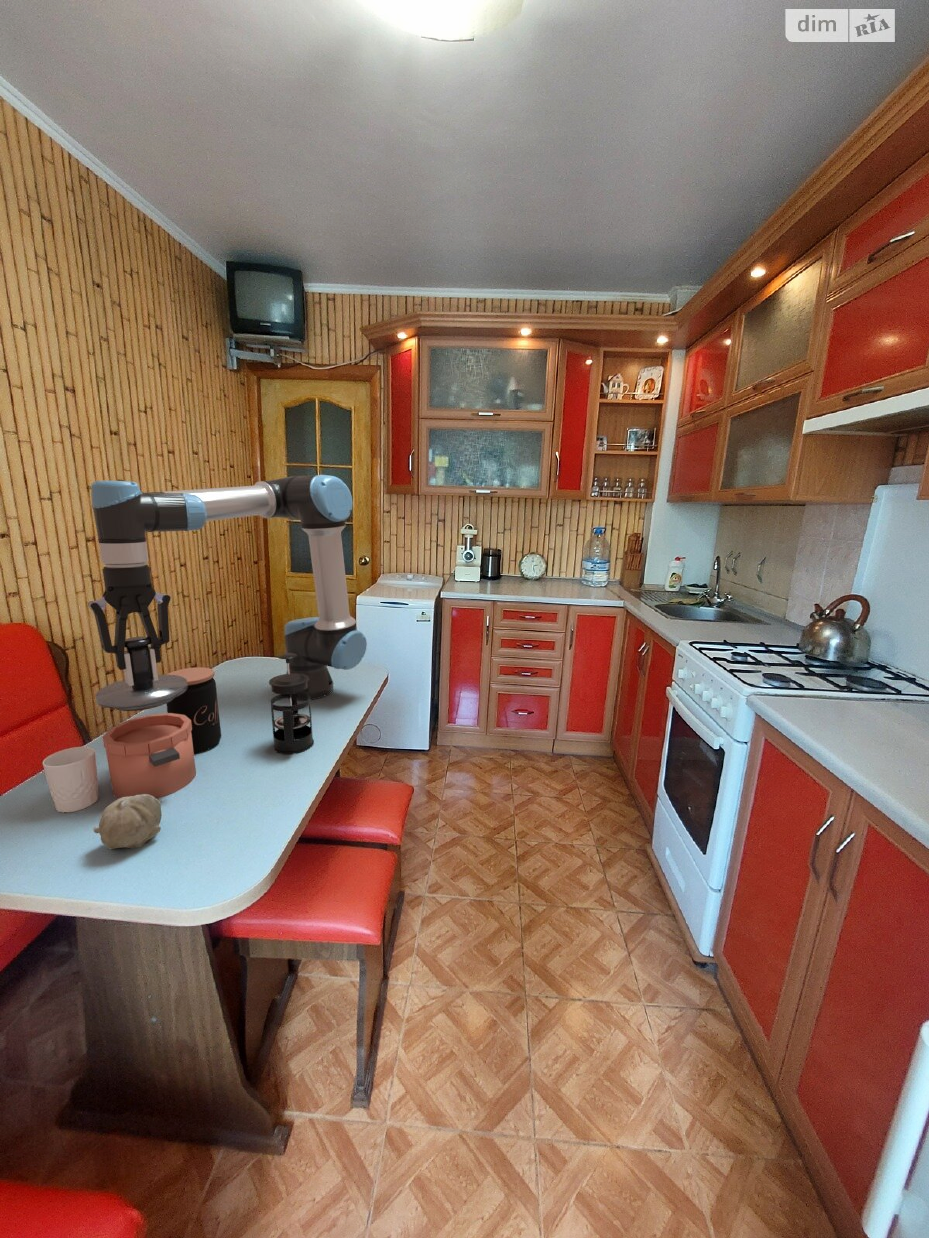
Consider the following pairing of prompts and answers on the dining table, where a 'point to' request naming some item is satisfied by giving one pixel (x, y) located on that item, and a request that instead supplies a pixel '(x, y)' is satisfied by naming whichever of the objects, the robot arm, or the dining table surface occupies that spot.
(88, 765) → the white cup
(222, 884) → the dining table surface
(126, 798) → the garlic bulb
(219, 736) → the coffee jar
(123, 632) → the robot arm
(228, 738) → the dining table surface
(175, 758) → the pot
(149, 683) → the lid
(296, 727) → the french press
